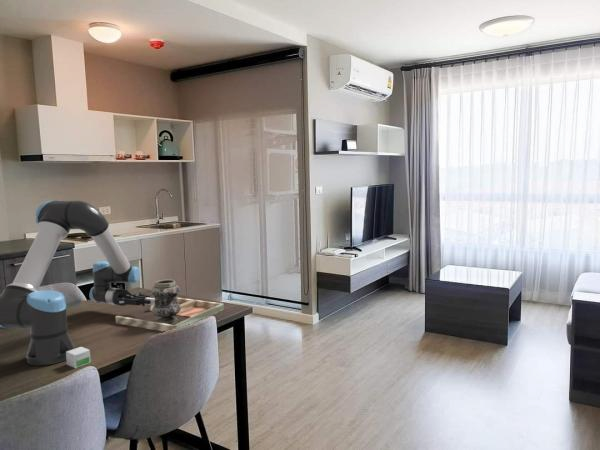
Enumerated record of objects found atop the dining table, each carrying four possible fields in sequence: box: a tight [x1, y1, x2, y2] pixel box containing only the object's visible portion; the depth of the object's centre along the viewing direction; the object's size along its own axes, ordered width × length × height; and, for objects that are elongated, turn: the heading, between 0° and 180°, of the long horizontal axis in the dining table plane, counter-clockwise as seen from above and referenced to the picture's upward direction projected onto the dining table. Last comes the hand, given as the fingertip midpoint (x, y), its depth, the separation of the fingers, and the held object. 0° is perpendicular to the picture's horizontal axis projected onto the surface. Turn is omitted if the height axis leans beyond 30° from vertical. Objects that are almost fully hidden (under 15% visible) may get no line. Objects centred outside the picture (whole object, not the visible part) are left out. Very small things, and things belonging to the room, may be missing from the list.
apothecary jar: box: [150, 279, 181, 325], centre depth 200 cm, size 12×12×18 cm
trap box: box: [115, 297, 225, 332], centre depth 209 cm, size 32×34×3 cm
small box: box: [66, 346, 91, 369], centre depth 159 cm, size 6×6×5 cm
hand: (157, 302), depth 204 cm, fingers closed
